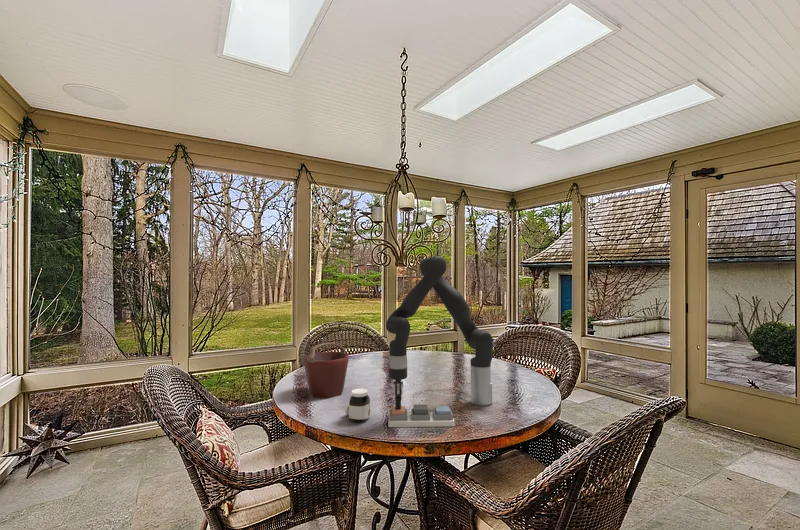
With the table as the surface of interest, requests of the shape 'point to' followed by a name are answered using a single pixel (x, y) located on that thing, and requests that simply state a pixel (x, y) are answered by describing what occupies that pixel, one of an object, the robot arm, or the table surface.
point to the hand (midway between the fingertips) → (398, 408)
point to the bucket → (326, 371)
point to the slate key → (442, 410)
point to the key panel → (420, 420)
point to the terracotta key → (398, 411)
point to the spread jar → (358, 406)
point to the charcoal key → (420, 409)
